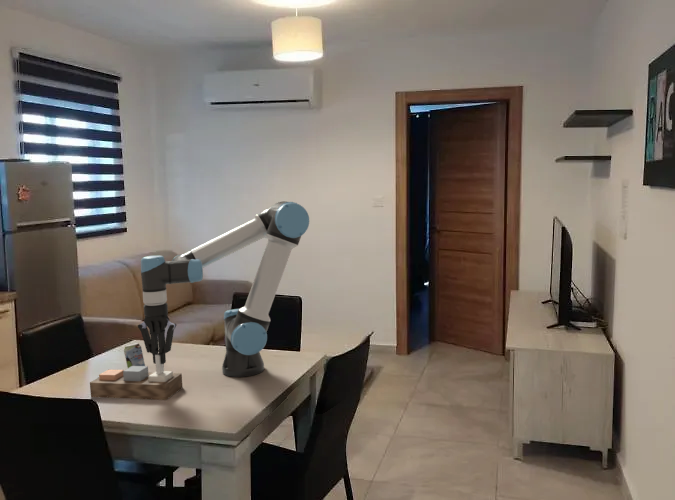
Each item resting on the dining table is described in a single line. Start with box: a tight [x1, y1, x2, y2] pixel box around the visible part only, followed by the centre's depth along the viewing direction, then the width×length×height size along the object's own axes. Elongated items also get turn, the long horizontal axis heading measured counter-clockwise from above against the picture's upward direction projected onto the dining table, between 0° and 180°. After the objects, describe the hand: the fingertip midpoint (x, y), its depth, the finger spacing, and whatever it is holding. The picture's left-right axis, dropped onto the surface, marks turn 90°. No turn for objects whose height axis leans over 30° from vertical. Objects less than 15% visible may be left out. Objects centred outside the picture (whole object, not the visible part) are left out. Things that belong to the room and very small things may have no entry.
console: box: [89, 372, 184, 401], centre depth 213 cm, size 27×12×5 cm, turn 78°
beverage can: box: [123, 342, 146, 369], centre depth 231 cm, size 6×7×12 cm
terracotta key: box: [98, 369, 125, 380], centre depth 215 cm, size 6×6×4 cm
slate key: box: [123, 365, 149, 381], centre depth 213 cm, size 6×6×4 cm
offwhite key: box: [148, 370, 174, 382], centre depth 211 cm, size 6×6×4 cm
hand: (160, 373), depth 211 cm, fingers closed
